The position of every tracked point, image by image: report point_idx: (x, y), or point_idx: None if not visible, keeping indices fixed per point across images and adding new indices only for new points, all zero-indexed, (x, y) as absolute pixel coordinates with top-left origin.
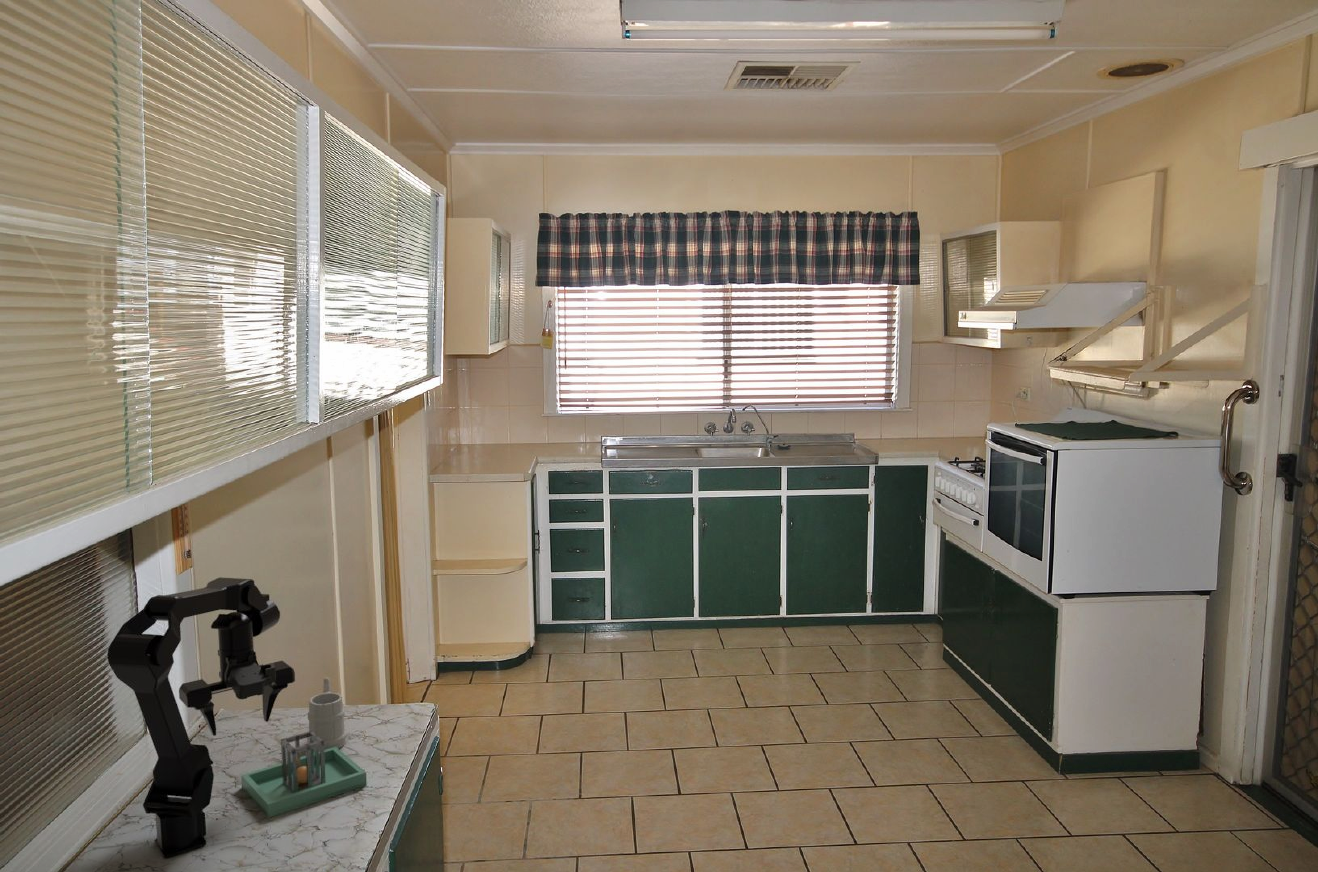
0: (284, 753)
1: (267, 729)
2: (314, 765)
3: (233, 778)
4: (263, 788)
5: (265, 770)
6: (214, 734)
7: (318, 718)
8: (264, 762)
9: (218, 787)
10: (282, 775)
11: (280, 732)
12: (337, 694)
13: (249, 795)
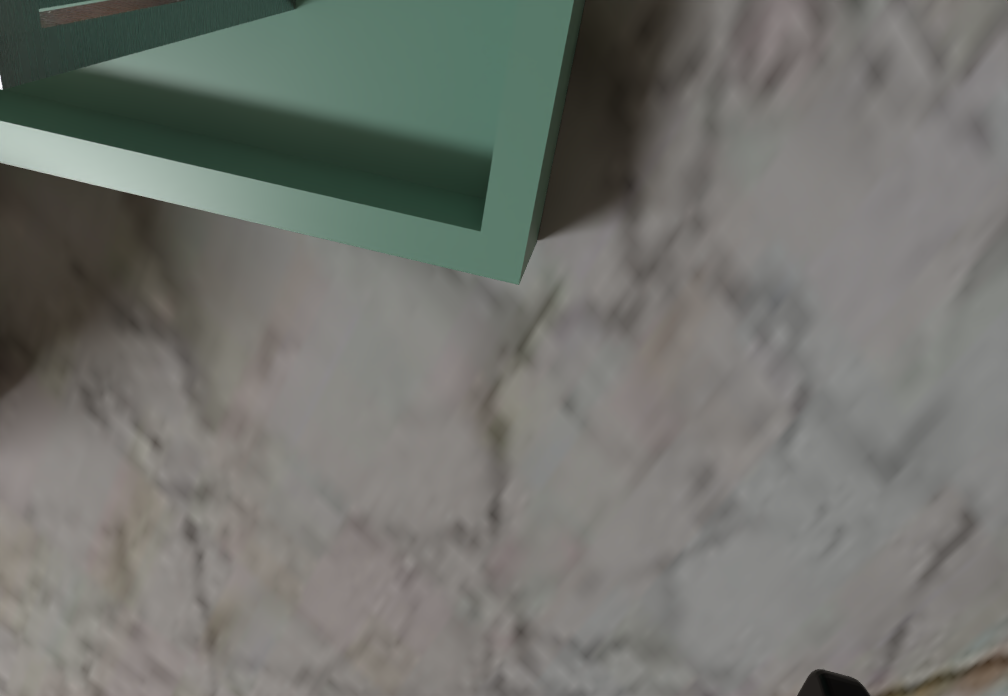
0: (104, 7)
1: (134, 679)
2: None
3: (504, 401)
4: (449, 49)
5: (342, 197)
6: (856, 693)
7: None
8: (271, 422)
9: (636, 375)
10: (263, 13)
11: (89, 616)
12: None
13: (571, 65)
